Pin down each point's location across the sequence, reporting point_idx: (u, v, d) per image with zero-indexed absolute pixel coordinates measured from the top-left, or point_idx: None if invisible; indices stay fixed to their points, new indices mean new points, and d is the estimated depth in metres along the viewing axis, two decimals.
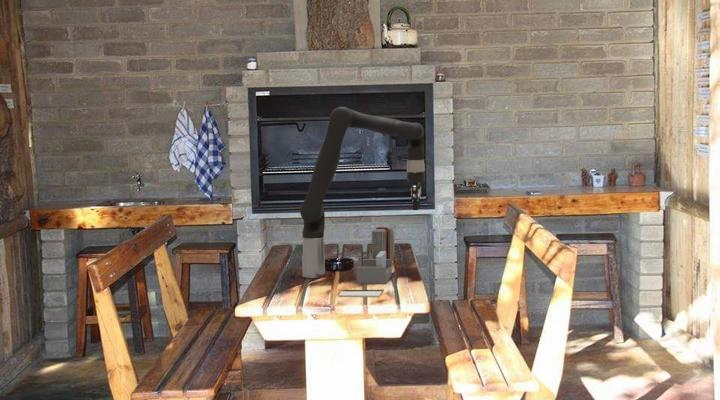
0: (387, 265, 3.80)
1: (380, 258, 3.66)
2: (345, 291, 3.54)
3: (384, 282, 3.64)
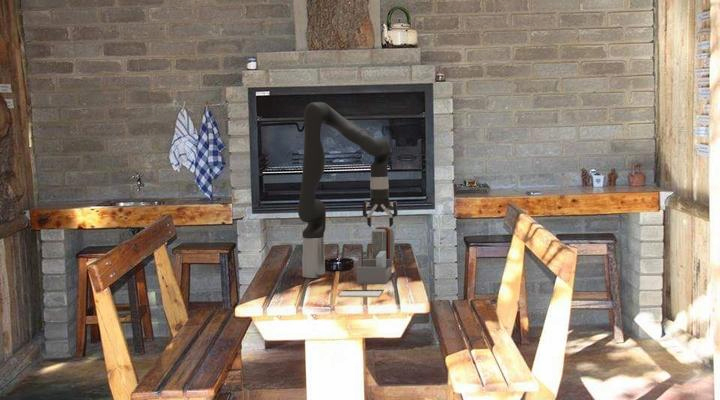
0: (387, 265, 3.80)
1: (380, 258, 3.66)
2: (345, 291, 3.54)
3: (384, 282, 3.64)
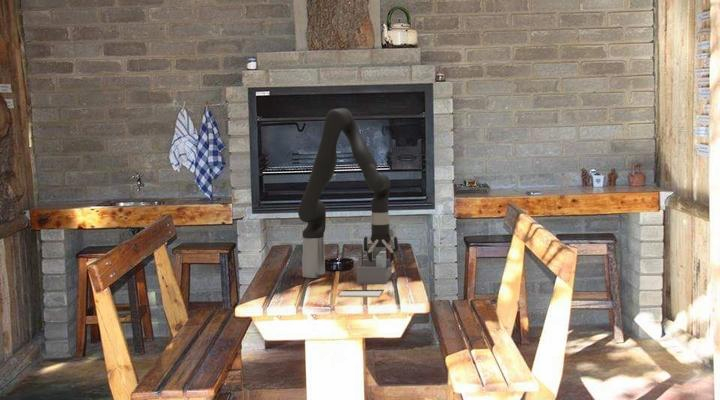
0: (387, 265, 3.80)
1: (380, 258, 3.66)
2: (345, 291, 3.54)
3: (384, 282, 3.64)
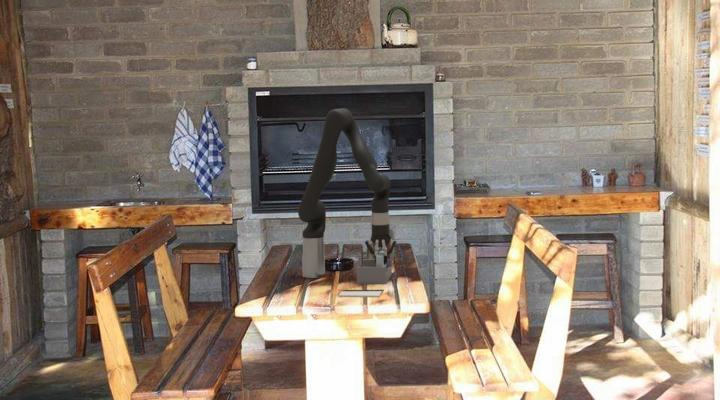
0: (387, 265, 3.80)
1: (380, 258, 3.66)
2: (345, 291, 3.54)
3: (384, 282, 3.64)
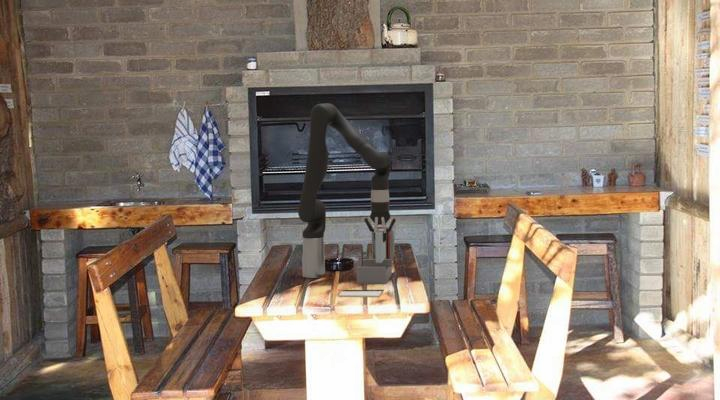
0: (387, 265, 3.80)
1: (379, 235, 3.65)
2: (345, 291, 3.54)
3: (384, 282, 3.64)
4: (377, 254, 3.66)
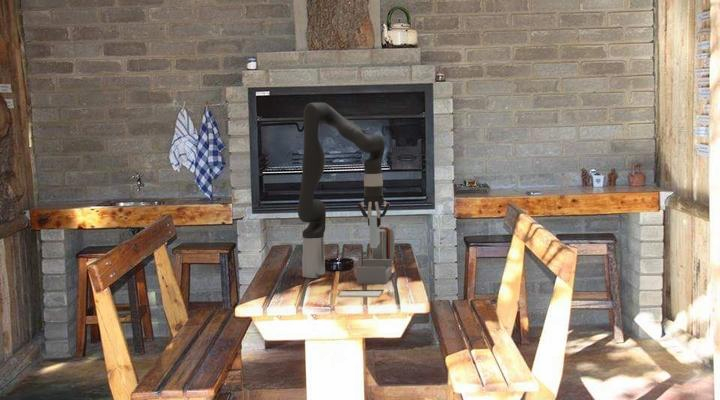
0: (387, 265, 3.80)
1: (373, 220, 3.57)
2: (345, 291, 3.54)
3: (384, 282, 3.64)
4: (371, 239, 3.58)
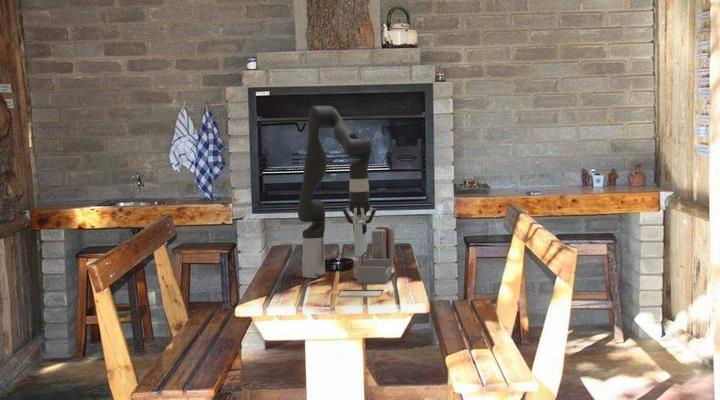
0: (387, 265, 3.80)
1: (358, 227, 3.44)
2: (345, 291, 3.54)
3: (384, 282, 3.64)
4: (356, 247, 3.45)
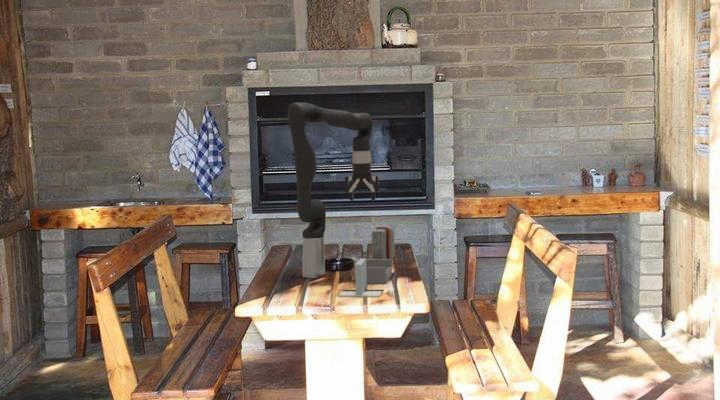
0: (387, 265, 3.80)
1: (359, 266, 3.46)
2: (345, 291, 3.54)
3: (384, 282, 3.64)
4: (357, 286, 3.47)
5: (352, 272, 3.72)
